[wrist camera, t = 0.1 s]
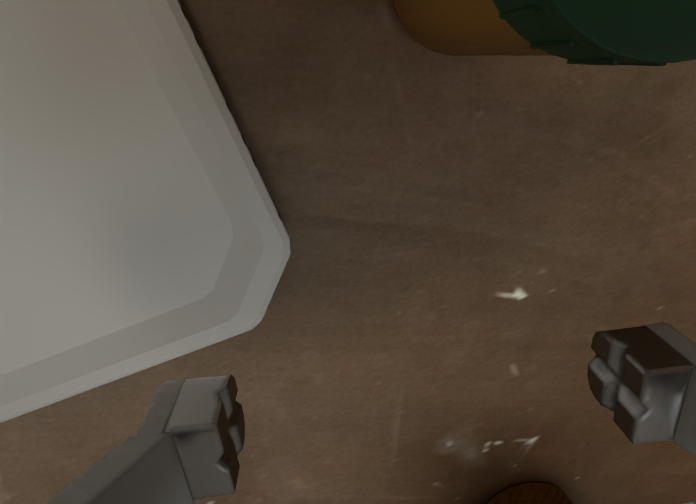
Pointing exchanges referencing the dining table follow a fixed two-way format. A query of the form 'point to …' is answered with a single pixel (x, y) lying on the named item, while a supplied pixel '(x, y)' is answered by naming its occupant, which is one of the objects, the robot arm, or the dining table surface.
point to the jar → (462, 28)
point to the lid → (606, 29)
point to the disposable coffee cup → (531, 495)
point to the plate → (120, 200)
